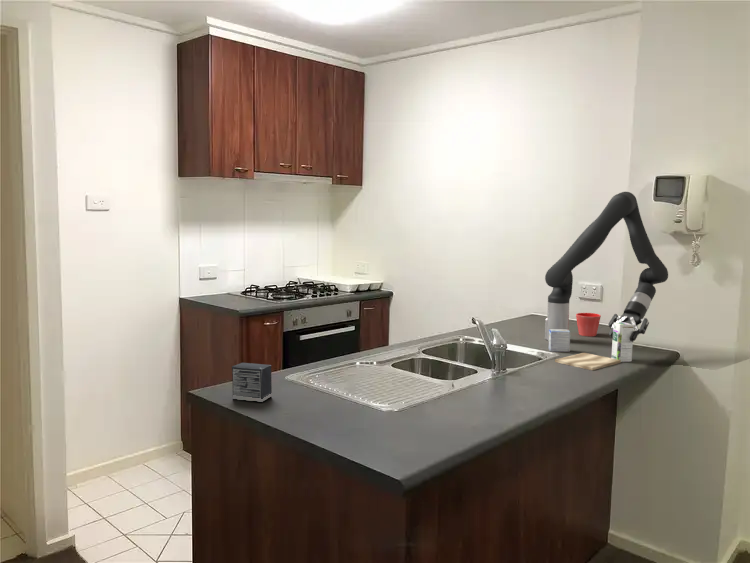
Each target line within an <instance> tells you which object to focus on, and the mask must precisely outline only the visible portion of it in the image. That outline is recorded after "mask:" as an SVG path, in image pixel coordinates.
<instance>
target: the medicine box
mask: <svg viewBox="0 0 750 563" xmlns="http://www.w3.org/2000/svg"><path fill="white" fill-rule="evenodd" d="M570 346H571V331H570V330H569V329H568V330H565V329H550V330H549V341H548V351H549V352H558V353H559V352H561V353H564V352H566V353H567V352H568V353H571V352H570V351H571V350H570V349H571V347H570Z"/></svg>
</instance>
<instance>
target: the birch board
mask: <svg viewBox="0 0 750 563" xmlns="http://www.w3.org/2000/svg"><path fill="white" fill-rule="evenodd" d="M554 362H555V363H558V364H562V365H567V366H571V367H575V368H578V369H580V368H581V369H584V370H589V371H596V370H599V369H603V368H605V367H606V368H607V367H610V366H614V365H618V364H620V363H621V360H618V359H613V358H611V357H607V356H603V355H596V354H592V353H588V352H581V353H577V354H572V355H568V356H564V357H560V358H556V359H555V358H554ZM621 364H622V363H621Z"/></svg>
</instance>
